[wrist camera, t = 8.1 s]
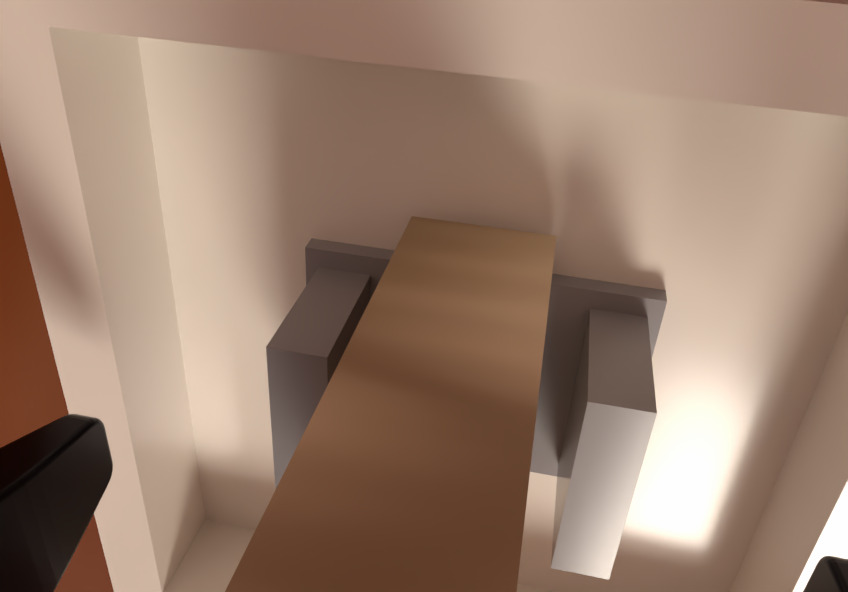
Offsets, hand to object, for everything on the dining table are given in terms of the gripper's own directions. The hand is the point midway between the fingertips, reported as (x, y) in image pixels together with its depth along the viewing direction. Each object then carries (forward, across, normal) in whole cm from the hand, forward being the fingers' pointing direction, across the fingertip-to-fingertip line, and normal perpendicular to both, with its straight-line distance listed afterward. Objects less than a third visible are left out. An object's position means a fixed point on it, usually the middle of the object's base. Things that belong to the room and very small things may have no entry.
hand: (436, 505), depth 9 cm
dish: (+4, 0, 0) cm, 4 cm away
